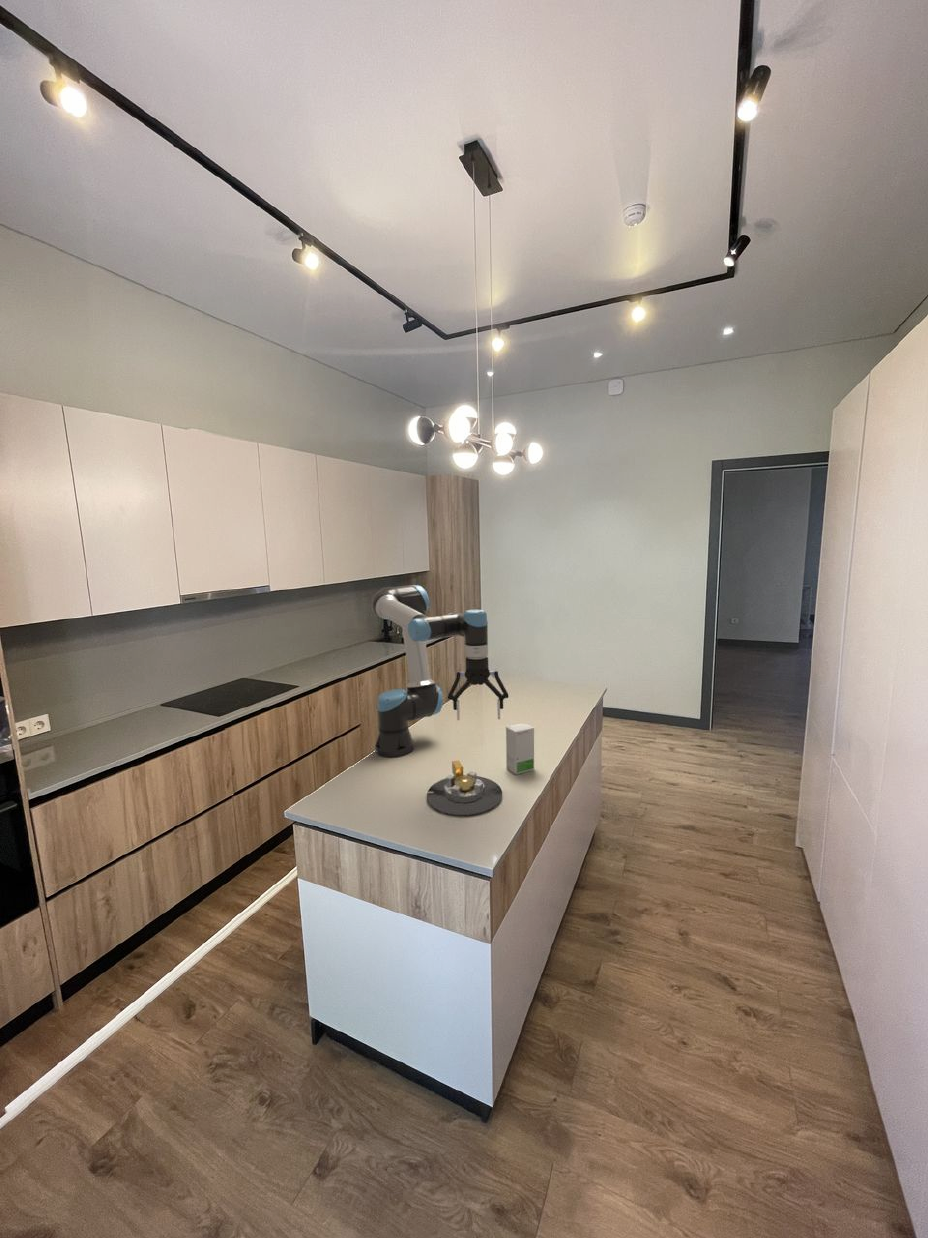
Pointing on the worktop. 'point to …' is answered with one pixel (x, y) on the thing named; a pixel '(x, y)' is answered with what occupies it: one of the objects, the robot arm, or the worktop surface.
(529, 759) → the skincare box
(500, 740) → the worktop surface
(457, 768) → the ring nut
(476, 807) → the bowl
